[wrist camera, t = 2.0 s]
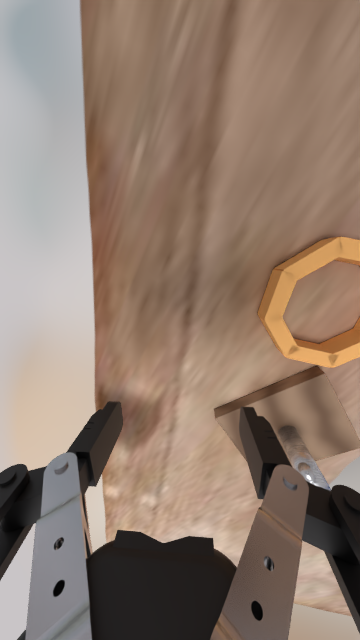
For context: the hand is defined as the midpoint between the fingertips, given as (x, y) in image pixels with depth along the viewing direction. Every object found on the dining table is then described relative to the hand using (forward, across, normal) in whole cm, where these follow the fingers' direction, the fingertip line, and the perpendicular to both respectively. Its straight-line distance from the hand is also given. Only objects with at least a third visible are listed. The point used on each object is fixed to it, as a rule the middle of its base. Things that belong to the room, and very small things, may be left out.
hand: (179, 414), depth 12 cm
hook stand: (+17, -17, +17) cm, 29 cm away
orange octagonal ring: (+16, -18, -5) cm, 25 cm away
